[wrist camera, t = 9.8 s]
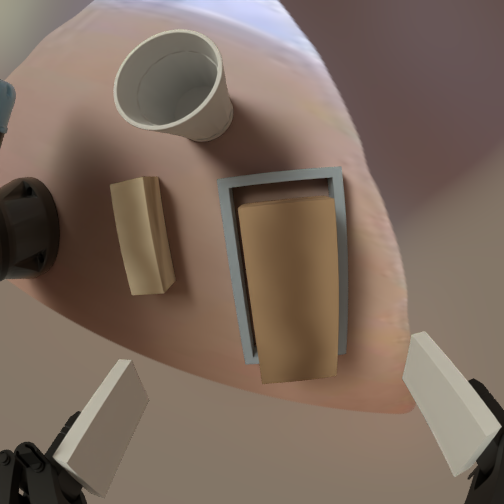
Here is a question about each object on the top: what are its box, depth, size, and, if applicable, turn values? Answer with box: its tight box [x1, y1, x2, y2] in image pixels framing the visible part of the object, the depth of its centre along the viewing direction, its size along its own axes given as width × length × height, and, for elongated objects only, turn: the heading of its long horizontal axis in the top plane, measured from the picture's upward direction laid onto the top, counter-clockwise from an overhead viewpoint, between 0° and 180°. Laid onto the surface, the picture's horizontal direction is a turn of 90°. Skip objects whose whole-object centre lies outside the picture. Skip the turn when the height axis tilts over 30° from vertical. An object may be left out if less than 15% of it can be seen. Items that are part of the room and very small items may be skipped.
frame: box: [217, 167, 348, 364], centre depth 27 cm, size 12×21×5 cm, turn 7°
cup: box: [114, 29, 233, 142], centre depth 20 cm, size 8×8×12 cm
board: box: [238, 196, 339, 384], centre depth 23 cm, size 7×16×4 cm, turn 7°
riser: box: [110, 177, 176, 295], centre depth 28 cm, size 4×12×4 cm, turn 7°
